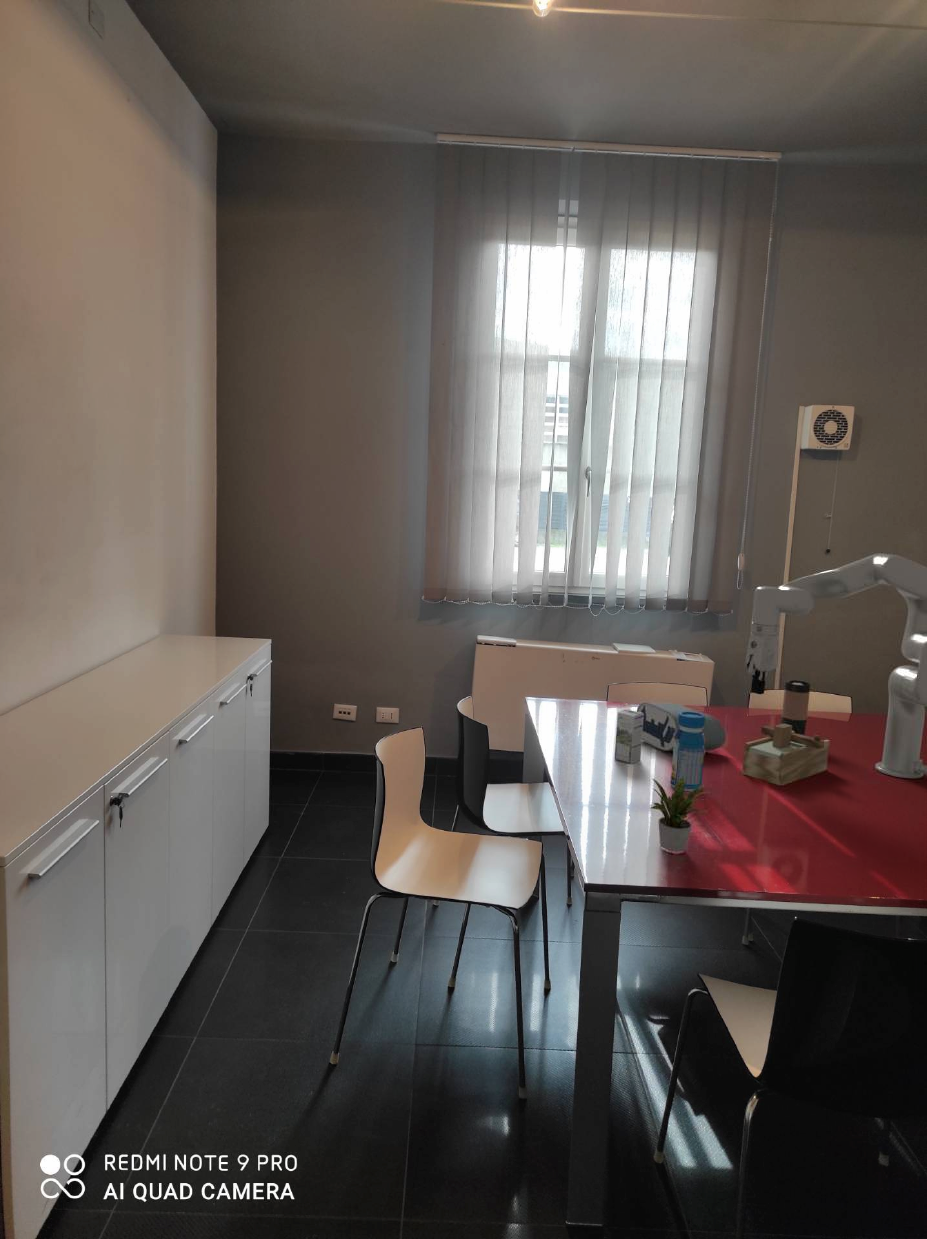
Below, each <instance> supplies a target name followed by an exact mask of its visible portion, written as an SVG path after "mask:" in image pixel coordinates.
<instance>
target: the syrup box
mask: <svg viewBox="0 0 927 1239" xmlns="http://www.w3.org/2000/svg"><path fill="white" fill-rule="evenodd" d="M636 711H637V710H636ZM636 711H635V710H632V709H628V708H627V709H623V710H620V711H617V718H616V732H615V747H614V759H613V760H616V761H619V762H623V763H625V764H626V763H627V764H629V765H631V764H635V763H637V762H639V761H641V756H642V741H643V740H642V731H643V719H644V713H641V712H636Z"/></svg>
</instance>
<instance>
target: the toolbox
mask: <svg viewBox="0 0 927 1239" xmlns="http://www.w3.org/2000/svg"><path fill="white" fill-rule="evenodd" d="M792 732H793V733H794V731H792ZM769 741H773V736H769V735H768V736H765V737H762V738H758V739H754V740H751V741H748V742H745V743H744V752H743V753H744V754H743V761H742V762H743V763H742V771H741V773H742V775H746V776H750V777H753V778H755V779H758V780H760V781H761V780H762V781H765V782H768V783H771V784H774V785H777V786H780V785H782V786H784V785H787V783H788V784H790V783H793V781H794V782H796V781H799V780H802V779H805V778H808V777H810V776H813V775H817V774H819V773H822V772H825V770H826V771H827V769H828V768H827V767H828V758H829V750H830V748H829V747H830V740H829V739H824V748H821V749H817V748H814V747H810V746H803V747H800V748H796V749H793V750H790V751H786V752H783V753H781V758H780V760H778V759H775V758H771V757H768V756H764V755H761V754H757V753H754V752H750V751H749V747H751V746H755V745H758V744H762V743H765V742H769Z"/></svg>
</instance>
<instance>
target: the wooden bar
mask: <svg viewBox="0 0 927 1239" xmlns="http://www.w3.org/2000/svg"><path fill="white" fill-rule="evenodd" d="M760 734H763V735H765V736H768V737H769V736H774V727H773V726H768V725H764V726H761V730H760ZM821 737H822V736H821V735H818V734H815V735H814V737H812V736H807V735H805V736H804V735H800V734H797V733H793V732H792V733H791V742H795V743H799V744H803V745H806V746H810V747H814V748H817V749H821V748H824V740H825V739H824V740H823V739H822V738H821Z"/></svg>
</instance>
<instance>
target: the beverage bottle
mask: <svg viewBox="0 0 927 1239" xmlns="http://www.w3.org/2000/svg"><path fill="white" fill-rule="evenodd" d="M678 724H679V726H680V728H679V729H678V730H677V732H676V734H675V736H674V740H675V743H674V744H673V751H672V764H671V765H672V766H671V776H670V782H669V783H670V786H671V787H672V788H673V789H675V785H674V780H675V782H676V785H677V784H678V781H679V780H680V779H681V778H682V777H683V778H684V782H685V790H684V792H691V791H693V790H694V789H696V788H697V787H699V786H702V785H703V772H704V769H703V768H704V760H705V754H706V751H705V747H704V744H705V743H706V739H705V735H704V733H703V731H702V730H701V729H703V728H704V724H705V716H704V715H703V714H700V713H696V712H681V713H679V719H678ZM673 778H674V780H673Z"/></svg>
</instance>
